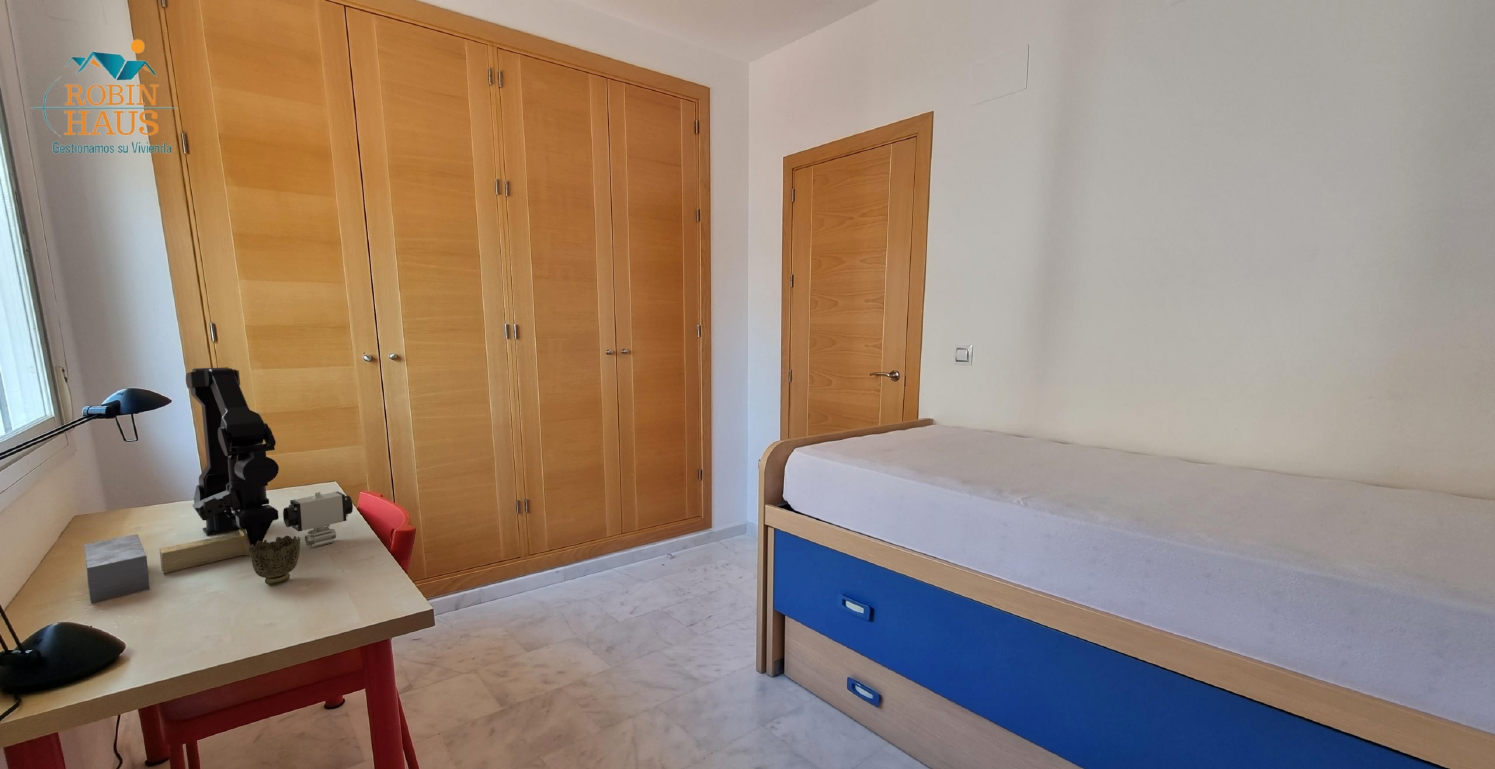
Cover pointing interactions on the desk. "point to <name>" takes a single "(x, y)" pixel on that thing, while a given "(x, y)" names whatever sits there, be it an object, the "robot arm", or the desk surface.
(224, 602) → the desk surface
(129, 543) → the gray rectangular block
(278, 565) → the cup
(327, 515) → the pneumatic valve
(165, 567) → the wooden bar
